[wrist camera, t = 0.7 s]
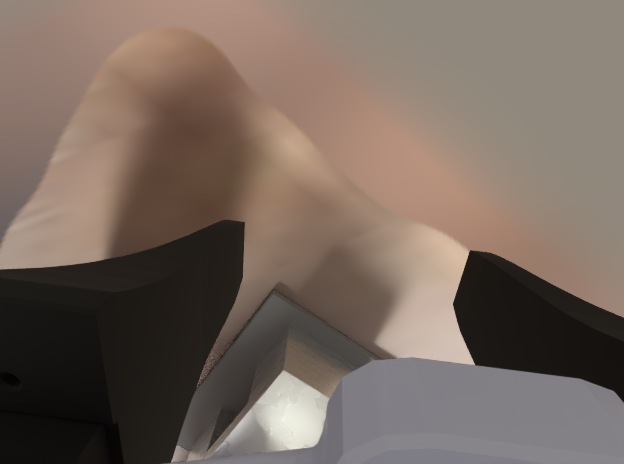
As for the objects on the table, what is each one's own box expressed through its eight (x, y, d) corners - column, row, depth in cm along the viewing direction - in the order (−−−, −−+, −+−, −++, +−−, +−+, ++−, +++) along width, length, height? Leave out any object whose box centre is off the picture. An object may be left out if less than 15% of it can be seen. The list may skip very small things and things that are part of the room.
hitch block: (263, 479, 28) (253, 548, 23) (194, 441, 27) (169, 506, 22) (364, 370, 25) (374, 425, 20) (289, 322, 24) (283, 370, 19)
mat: (435, 576, 31) (438, 585, 31) (165, 430, 27) (162, 436, 27) (561, 477, 28) (567, 484, 27) (273, 289, 24) (272, 293, 23)
